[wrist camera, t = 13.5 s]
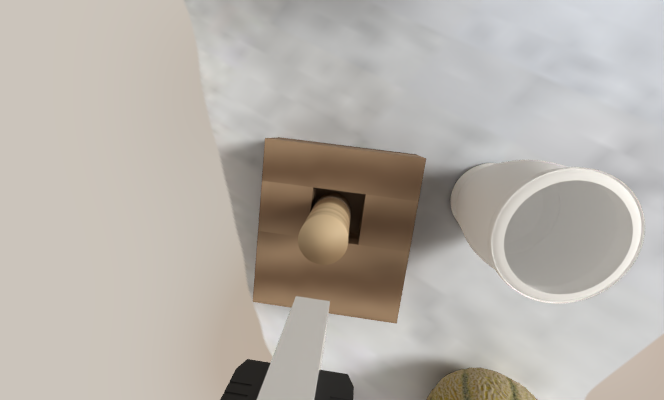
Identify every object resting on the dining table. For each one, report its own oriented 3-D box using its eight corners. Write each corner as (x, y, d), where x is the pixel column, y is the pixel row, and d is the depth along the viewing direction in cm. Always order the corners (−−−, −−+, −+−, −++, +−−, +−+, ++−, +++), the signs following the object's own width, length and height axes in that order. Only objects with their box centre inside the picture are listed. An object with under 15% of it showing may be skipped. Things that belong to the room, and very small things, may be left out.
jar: (521, 139, 37) (630, 144, 22) (544, 223, 38) (660, 280, 24) (428, 172, 38) (473, 198, 24) (455, 252, 40) (512, 322, 25)
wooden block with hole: (279, 137, 39) (265, 138, 33) (415, 154, 38) (426, 158, 32) (267, 278, 42) (252, 301, 37) (391, 296, 42) (396, 323, 36)
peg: (318, 187, 38) (300, 212, 26) (353, 192, 37) (351, 220, 26) (314, 221, 38) (294, 261, 27) (348, 226, 38) (345, 268, 26)
